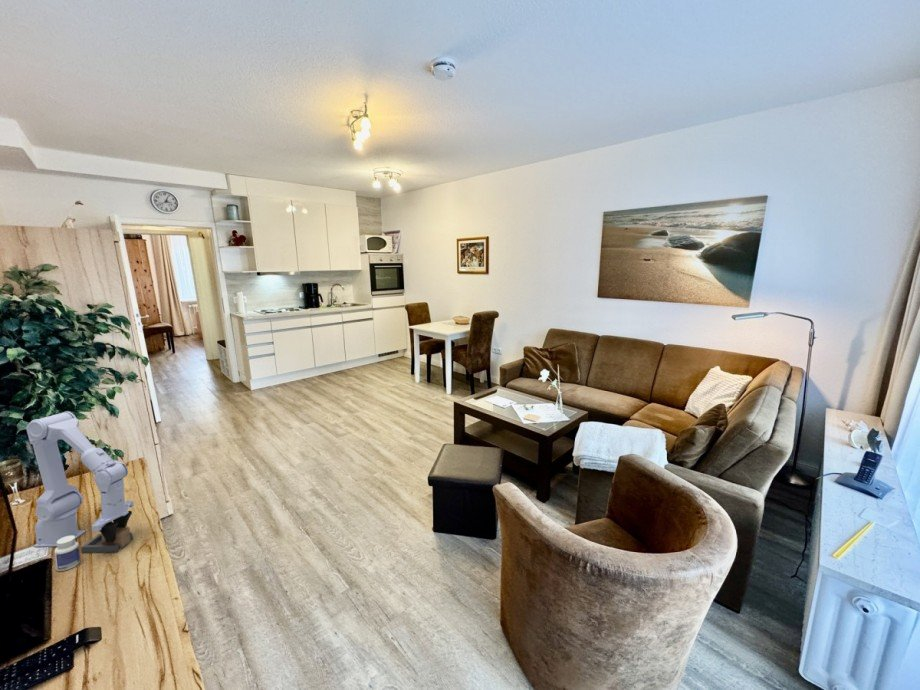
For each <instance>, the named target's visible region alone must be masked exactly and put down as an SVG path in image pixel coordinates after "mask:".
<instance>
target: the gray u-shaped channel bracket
mask: <svg viewBox="0 0 920 690" xmlns="http://www.w3.org/2000/svg"><path fill="white" fill-rule="evenodd" d="M133 534H134V533H133V532H130V542H131V541H133V539H134V538H133V537H134V536H133ZM130 542H128V543H127V544H129V543H130ZM122 549H123V548H119V545H102V533H98V534H97V535H95V536H94V537H93V538H91V539H90V540H89V541H87V542H86V543H84V544H83V545H82V546H81V547H80V552H81V554H109V553H110V554H111V553H114V554H115V553H118V552H119V551H121V550H122Z"/></svg>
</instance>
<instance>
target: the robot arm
mask: <svg viewBox="0 0 920 690" xmlns="http://www.w3.org/2000/svg"><path fill="white" fill-rule="evenodd" d="M79 425H80V424H79V419H78V418H77V417H76V415H75V414H74V413H73V412H71V411H64V412H63V411H62V412H61V413H56V414H53V415H50V416H49V415H48V416H46V417H42V418H36V419H33V420H31V421H30V422H29V423H28V424H27V425H26V427H25V429H26V433H27V436H28V441H29V444H30V445H32V447H33V451H34V454H35V455H34V456H35V458H36V463H37V465H38V470H39V473H40V476H41V481H42V485H43V488H44V491H43V493H42V494H41V495H40V496H39V497H38V498H37V499H36V501H35V503H36V510H35V513H36V514H35V515H36V516H37V518H38V519H37V522H36V523H35V525H34V526H35V527H34V532H35V542H36V543H35V544H34V545H33V547H35V548H40V547H42V548H43V547H46V548H47V547H57V541H58V540H59V539H61V538H63V537H66V536H71V535H73V536H75V540H76V539H78V538H79V537H80V536H82V535H83V534H85V533H86V530H84V529H83V530H81V529H78V526H79V525H78V516H77V515H78V514H77V511H79V507H80V506H81V505H83V501H84V498H83V495H82V494H81V492H80V491H79V489H78V486H77V485H71V484H69V483H68V481H67V476H66V472H65V469H64V464H63V461H62V457H61V453H60V449H59V446H58V440H62V441H64V442H65V443H66V444H67V445H69V446H70V447H71V448H72V449H74V450H75V451H76V452H77V453H78V454H80V462H82V464H83V465H85V466H86V468H87V469H88V470H90V472H92V474H93V475H94V477H93V481H94V483H95V484H96V486H97V490H98V491H99V492H100V506H101V515H100V516H99V518H98V519H97V520H96V522H95V523H93V525H91V532H99V533H100V534H102V535H103V536H104V538H105V540H106V542H107V543H109V542H114V541H115V536H116V528H124V527H127V524H128V522H129V519H130V517H131V515H132V514H133V512H132V510H129V508H133V507H134V505H135V504H134V502H135V501H134V500H127V501H126V499H125V483H124V478H126V477H127V476H128V474H129V471H128V467H127V466H126V465H125V463H124V462H122V461H118V460H116V459H115V460H114V459H113V458H112V457H110V455H109V454H108V453H107V452H106V451H104V449H103V448H101V447H95V446H94V445H93V443H92V442H90V440H89V439H88V438H87V437H86V436H85V434H84V432H82V430H81V429H80V428H79Z"/></svg>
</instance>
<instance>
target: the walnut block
mask: <svg viewBox="0 0 920 690" xmlns="http://www.w3.org/2000/svg"><path fill="white" fill-rule="evenodd" d="M130 528H131V527H129V526H128V527H127V526H126V527H124V528H116V536H115V541H114V542H109V543H107V542H106V540H105V538H104V536H103V535H102V545H119V548H122V549H123V548H124V547H125V546H126V545H127V544H129V543H130V542H131V541H130V533H131V530H130ZM128 542H129V543H128Z"/></svg>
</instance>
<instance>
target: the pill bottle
mask: <svg viewBox="0 0 920 690" xmlns="http://www.w3.org/2000/svg"><path fill="white" fill-rule="evenodd" d="M53 554H54V562H55V570H56V571H58V572H64V571H67V570H71V569H73V568H75V567H76V566H78V565H79V564H80V562H81V554H80V544H79V542H78V541H76V539H75V536H73V535H71V536H66V537H63V538H61V539H59V540H58V541H57V546H56V548H54V553H53Z"/></svg>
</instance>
